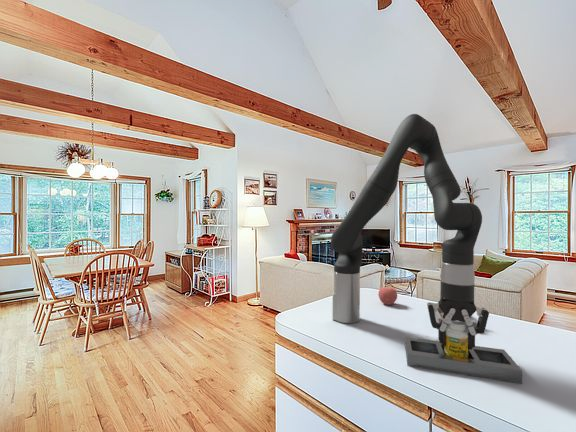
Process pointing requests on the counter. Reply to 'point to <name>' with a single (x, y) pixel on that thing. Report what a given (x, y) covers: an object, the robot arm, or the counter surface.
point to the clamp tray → (438, 319)
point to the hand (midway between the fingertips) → (456, 346)
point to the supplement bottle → (456, 340)
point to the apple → (387, 295)
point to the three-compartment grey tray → (463, 360)
